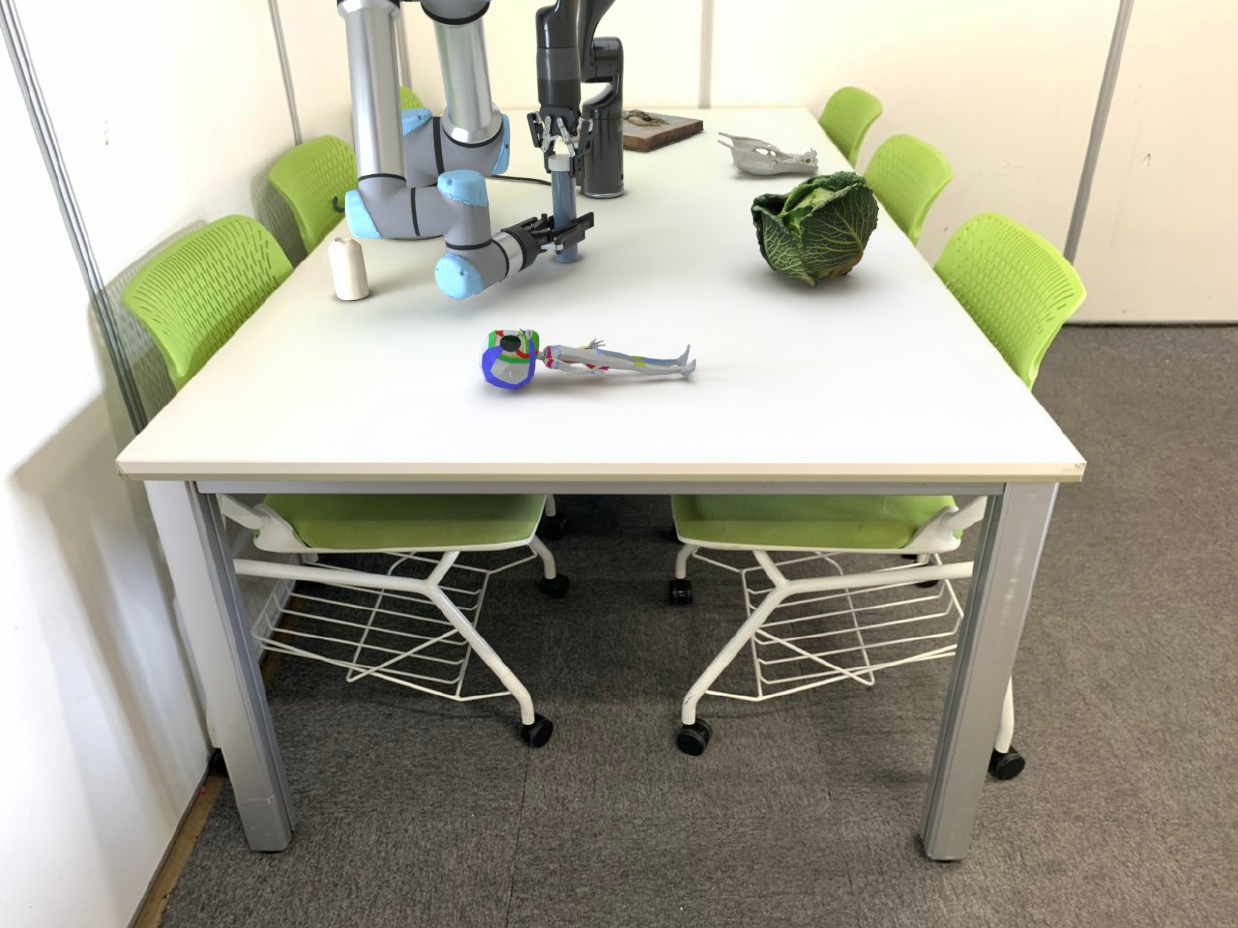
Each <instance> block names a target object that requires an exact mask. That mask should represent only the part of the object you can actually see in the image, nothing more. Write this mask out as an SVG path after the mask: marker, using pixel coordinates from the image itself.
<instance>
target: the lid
mask: <svg viewBox="0 0 1238 928" xmlns="http://www.w3.org/2000/svg"><path fill="white" fill-rule="evenodd" d="M569 157H570V154H569V153H556V154H555V155H551V156H549V160H548V164H549V169H550V170H552V171H561V172H562V171H570V163H569Z"/></svg>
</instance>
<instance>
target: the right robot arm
mask: <svg viewBox="0 0 1238 928" xmlns="http://www.w3.org/2000/svg"><path fill="white" fill-rule="evenodd" d="M616 1H617V0H556V1H555V3H553V4H549V5H544V6H541V7H540V8H538V9H537V10H536V11H535V15H534V16H535V17H534V22H535V23H534V24H535V25H534V26H535V41H536V55H535V66H536V68H535V69H536V85H537V86H536V87H537V101H538V103H539V105H540V108H539V110H535V111H531V112H529V113H526V120H527V124H528V129H529V133H530V136H531V141H532V145H533V147H534V148H535V149H540V150H541V152H542V154H543V166H544V170H545V172H546V174H548V175H551V170H550V169H549V164H548V160H549V156H551V155H555V154H557V152H556V150H555V148H556V143H557V140H558V139H559V137H560V138H562V137H563V138H562V140H563V143H564V145H566V147H567V151H568V154H570V157H569V163H570V177H571V178H575V182H576V187H580V195H585V196H587V197H589V198H595V199H612V198H617V197H620V196H622V195H624V193H625V187H624V186H625V183H624V181H625V174H624V173H625V172H624V148H623V110H624V73H625V53H624V52H625V50H624V45H623V42H622V40H621V39H620V37H618V36H615V35H607V36H605V35H603V36H595V33H596V31H597V28H598V27H599V25H600V22H601V21H602V19H603V18H604V17H605V15H606V14H607V13H608V11H609V10H610V9H611V7H613V5H614V4H615V2H616ZM582 84H583V85H584V84H585V85H592V84H593V85H595V84H606V85H605V86H604V88H603V89H602V91H600V92H598V93H597V94H596V95H594V96H592V97H590V98H588V99H586V100H584V101H583V102H582ZM581 102H582V103H581ZM580 106H581V108H580ZM579 124H580V127H579V129H580V130H581V132H580V133H579V130H578V125H579ZM572 134H573V137H572V138H571V137H570V136H571V135H572ZM483 177H484V178H485V177H486V178H492V179H500V180H501V179H502V180H511V181H522V182H532V183H539V184H543V185H546V186H551V187H552V183H551V181H547V180H544V179H540V178H533V177H522V176H511V175H503V174H499V175H491V176H483Z"/></svg>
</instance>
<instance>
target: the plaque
mask: <svg viewBox="0 0 1238 928" xmlns="http://www.w3.org/2000/svg"><path fill="white" fill-rule="evenodd" d="M579 127H580V124H579V125H578V130H579V133H580V132H581V130H580V129H579ZM704 130H705V129H704V120H702V119H698V118H693V117H685V116H679V115H669V114H663V113H659V112H650V111H644V110H642V109H637V108H636V109H635V108H634V109H630V110H629V109H623V149H625V150H632V151H640V152H648V151H654V150H656V149H659V148H662V147H663V146H664V147H665V146H667V145H670V144H672V143H676V142H680V141H682V140H684V139H687V138H691V137H692V136H694V135H696V134H698V133H700V132H704ZM570 137H571V138H572V137H573V134H572V135H571V136H570ZM561 138H562V139H563V137H561Z"/></svg>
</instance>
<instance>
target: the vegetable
mask: <svg viewBox="0 0 1238 928" xmlns="http://www.w3.org/2000/svg"><path fill="white" fill-rule="evenodd" d="M856 172H857V171H844V170H840V171H835V172H833V173H832V174H821V175H817V176H812V177H809V178H808V179H805V180H804V181H802V182H801V183H799V184H798V185H797V186H794V187H793V188H792V189H791V190H790V191H789V192H787V193H784V194H779V193H769V192H766V193H764V194H761V195H759V196H756V197H754V199H753V200H752V204H751V207H750V208H749V209H750V213H751V217H752V225H753V226H754V228H755V229H756V232H755V236H756V238H757V244H758V246H759V253H760V255H761V257H762V258H763V259H764V260H765V262H766V264H767V265H768V267H769V268H770V269H771V270H772V271H773V272H779V273H780V274H781V275H782V276H783V277H786V278H788V279H789V280H791V281H795V282H797V283H806V284H809V285H810V286H811V287H814V286H815V285H819V282H818V280H820V279H822V278H826V277H827V278H828V277H833V278H837V277H838V276H848V273H850V272H852V270H853V269H854V267H855V266H857V265H858V264H859V263H860V262H861V261H862V259H863V256H864V254H865V253H864V252H865V250H866V248H867V246H868V243H869V241H870V237H871V236H872V233H873V232H874V231H875V230H876V229H877V227H878V221H879V219H880V218H878V216H879V210H880V207H879V205H878V201H877V199H876V198H875V196H874V191H873V190H872V187H869V186H868V184H867V180H866V179H865V177H864V176H861V175H859V174H857V173H856Z"/></svg>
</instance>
